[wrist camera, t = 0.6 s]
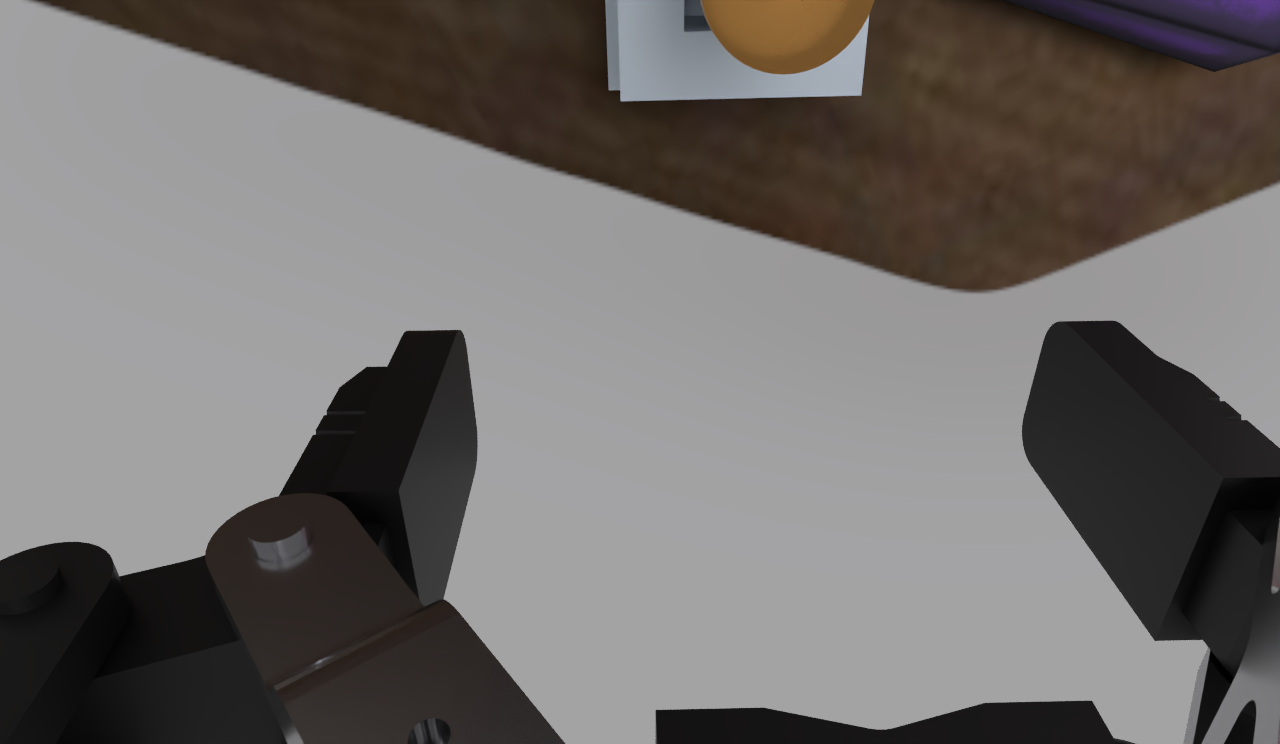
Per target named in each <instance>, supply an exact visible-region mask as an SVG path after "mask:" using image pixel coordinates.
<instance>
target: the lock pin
mask: <svg viewBox="0 0 1280 744" xmlns="http://www.w3.org/2000/svg"><path fill="white" fill-rule="evenodd" d="M700 1H701V6H702V9H703V13H704V16H705V18H706V21H707V23H708V25H709V27H710V29H711V30H712V32H713V34H714V35H715V37H716V38H717V39H718V40H719V42H720V43H721V44H722V45H723V47H724V48H725V49H726V50H727V51H728V52H729V53H730V54H731V55H732V56H733V57H734V58H736V59H737V60H739V61H740V62H742V63H743V64H745V65H747V66H749V67H751V68H753V69H756V70H759V71H762V72H766V73H771V74H784V75H785V74H796V73H800V72H805V71H808V70H811V69H814V68H816V67H819V66H821V65H822V64H824V63H826V62H828V61H830V60H831V59H832V58H834V57H835V56H837V55H838V54H839V53H840V52H842V51H843V50H844V49H845V48H846V47H847V46H848V45H849V44H850V43H851V42H852V40H853V39H854V38H855V37H856V36H857V34H858V33H859V31H860V30H861V29H862V27H863V25H864V23H865V22H866V20H867V18H868V16H869V13H870V11H871V9H872V6H873V3H874V0H700Z"/></svg>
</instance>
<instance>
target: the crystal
mask: <svg viewBox="0 0 1280 744" xmlns="http://www.w3.org/2000/svg"><path fill="white" fill-rule="evenodd" d="M1003 1H1006V2H1009V3H1012V4H1015V5H1018V6H1021V7H1024V8H1027V9H1030V10H1033V11H1036V12H1039V13H1042V14H1044V15H1047V16H1050V17H1053V18H1056V19H1059V20H1062V21H1065V22H1068V23H1071V24H1074V25H1077V26H1080V27H1083V28H1086V29H1089V30H1092V31H1095V32H1098V33H1101V34H1104V35H1107V36H1109V37H1112V38H1115V39H1118V40H1121V41H1124V42H1127V43H1130V44H1133V45H1136V46H1139V47H1142V48H1145V49H1148V50H1151V51H1154V52H1157V53H1160V54H1163V55H1166V56H1169V57H1172V58H1175V59H1177V60H1180V61H1183V62H1186V63H1189V64H1192V65H1195V66H1198V67H1201V68H1204V69H1207V70H1210V71H1213V72H1215V71H1219V70H1222V69H1226V68H1229V67H1233V66H1236V65H1239V64H1243V63H1246V62H1250V61H1253V60H1257V59H1260V58H1263V57H1267V56H1270V55H1274V54H1277V53H1280V0H1003Z"/></svg>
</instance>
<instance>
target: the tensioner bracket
mask: <svg viewBox="0 0 1280 744" xmlns="http://www.w3.org/2000/svg"><path fill="white" fill-rule="evenodd" d="M605 5H606V32H607V59H608V86H609V90H620V99H621V101H653V100H694V99H735V98H776V97H817V96H858V95H861V92H862V82H863V72H864V62H865V52H866V42H867V32H868V22H869V16H868V18H867V20H866V22H865V23H864V25H863V27H862V29H861V30H860V31H859V33H858V34H857V36H856V37H855V38H854V39H853V40H852V42H851V43H850V44H849V45H848V46H847V47H846V48H845V49H844V50H843V51H842V52H840V53H839V54H838V55H837V56H835V57H834V58H832V59H831V60H830V61H828V62H826V63H824V64H822V65H821V66H819V67H816V68H814V69H811V70H808V71H805V72H800V73H796V74H785V75H784V74H771V73H766V72H762V71H759V70H756V69H753V68H751V67H749V66H747V65H745V64H743V63H742V62H740V61H739V60H737V59H736V58H734V57H733V56H732V55H731V54H730V53H729V52H728V51H727V50H726V49H725V48H724V47H723V45H722V44H721V43H720V42H719V40H718V39H717V38H716V37H715V35H714V34H713V32H712V30H711V29H710V27H709V25H708V23H707V21H706V18H705V16H704V13H703V9H702V6H701V1H700V0H605Z"/></svg>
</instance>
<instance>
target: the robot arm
mask: <svg viewBox="0 0 1280 744" xmlns="http://www.w3.org/2000/svg"><path fill="white" fill-rule="evenodd" d="M1219 398H1220V397H1219V396H1218V395H1217V394H1216V393H1215V392H1213V391H1212V390H1211V389H1210V388H1209V387H1208V386H1206V385H1205V384H1204V383H1203V382H1202V381H1201V380H1199V379H1198V378H1197V377H1196V376H1195V375H1194V374H1192V373H1190V372H1188V371H1186V370H1184V369H1182V368H1180V367H1178V366H1176V365H1174V364H1172V363H1170V362H1168V361H1166V360H1164V359H1162V358H1160V357H1158V356H1157V355H1155V354H1154V353H1153V352H1152V351H1151V350H1150V349H1149V348H1148V347H1147V346H1145V345H1144V344H1143V343H1142V342H1141V341H1140V340H1138V339H1137V338H1136V337H1135V336H1134V335H1133V334H1132V333H1131V332H1129V331H1128V330H1127V329H1126V328H1125V327H1124V326H1123V325H1121V324H1120V323H1118V322H1116V321H1067V322H1056V323H1055V324H1053V325H1052V326H1051V327H1050V328H1049V330H1048V331H1047V333H1046V336H1045V338H1044V341H1043V345H1042V349H1041V353H1040V357H1039V360H1038V364H1037V369H1036V372H1035V376H1034V380H1033V384H1032V387H1031V391H1030V395H1029V399H1028V402H1027V406H1026V410H1025V414H1024V418H1023V425H1022V439H1023V446H1024V450H1025V453H1026V456H1027V459H1028V461H1029V462H1030V464H1031V466H1032V467H1033V468H1034V470H1035V471H1036V473H1037V474H1038V476H1039V477H1040V478H1041V480H1042V481H1043V483H1044V484H1045V485H1046V487H1047V488H1048V489H1049V491H1050V492H1051V494H1052V495H1053V497H1054V498H1055V500H1056V501H1057V502H1058V504H1059V505H1060V507H1061V508H1062V509H1063V511H1064V512H1065V514H1066V515H1067V517H1068V518H1069V520H1070V521H1071V522H1072V524H1073V525H1074V527H1075V528H1076V530H1077V531H1078V532H1079V534H1080V535H1081V537H1082V538H1083V539H1084V541H1085V542H1086V544H1087V545H1088V547H1089V548H1090V549H1091V551H1092V552H1093V553H1094V555H1095V556H1096V558H1097V559H1098V561H1099V562H1100V563H1101V565H1102V566H1103V568H1104V569H1105V570H1106V572H1107V574H1108V575H1109V576H1110V578H1111V579H1112V581H1113V582H1114V583H1115V585H1116V586H1117V588H1118V589H1119V591H1120V592H1121V593H1122V595H1123V596H1124V598H1125V599H1126V600H1127V602H1128V603H1129V605H1130V606H1131V607H1132V609H1133V610H1134V612H1135V613H1136V614H1137V616H1138V617H1139V619H1140V620H1141V622H1142V623H1143V624H1144V626H1145V627H1146V629H1147V630H1148V632H1149V633H1150V635H1151V636H1152V637H1153V639H1154V640H1155V641H1159V640H1203V641H1204V642H1205V643H1206V644H1207V646H1208V647H1209V648H1208V650H1207V652H1206V654H1205V656H1204V658H1203V660H1202V663H1201V665H1200V667H1199V670H1198V674H1197V678H1196V684H1195V688H1194V694H1193V699H1192V704H1191V709H1190V714H1189V719H1188V724H1187V729H1186V734H1185V739H1184V744H1280V448H1279V447H1278V446H1276V445H1275V444H1274V443H1273V442H1272V441H1271V440H1269V439H1268V438H1267V437H1266V436H1265V435H1264V434H1262V433H1261V432H1260V431H1259V430H1258V429H1256V428H1255V427H1254V426H1253V425H1252V424H1251V423H1250V422H1248V421H1247V420H1241V415H1240V414H1239V413H1238V412H1237V411H1236V410H1234V409H1233V408H1232V407H1231V406H1230V405H1229V404H1227V403H1226V402H1225V401H1220V400H1219ZM476 462H477V427H476V418H475V410H474V402H473V395H472V388H471V379H470V371H469V363H468V355H467V348H466V342H465V338H464V335H463V333H462V331H461V330H435V331H406V332H405V333H404V334H403V336H402V338H401V340H400V342H399V344H398V346H397V348H396V350H395V352H394V354H393V356H392V358H391V360H390V362H389V365H388V367H366V368H365V369H363V370H362V371H361V372H359V373H358V374H357V375H356V376H354V377H353V378H352V379H350V380H349V381H348V382H346V383H345V384H344V385H342V386H341V387H340V388H339V390H338V392H337V393H336V395H335V397H334V399H333V400H332V402H331V404H330V406H329V408H328V409H327V415H324V416H323V419H322V420H321V422H320V424H319V426H318V427H317V429H316V435H313V436H312V438H311V440H310V441H309V443H308V445H307V447H306V449H305V450H304V452H303V454H302V456H301V458H300V460H299V461H298V463H297V465H296V466H295V468H294V470H293V472H292V474H291V475H290V477H289V479H288V481H287V482H286V484H285V486H284V488H283V490H282V492H281V493H280V495H279V496H278V497H274V498H270V499H267V500H264V501H261V502H259V503H256V504H254V505H252V506H250V507H248V508H246V509H244V510H242V511H241V512H239V513H237V514H236V515H234V516H233V517H231V518H230V519H229V520H227V521H226V522H225V523H224V524H223V525H222V526H221V527H220V528H219V529H218V530H217V531H216V532H215V534H214V535H213V536H212V538H211V540H210V542H209V543H208V546H207V549H206V555H204V556H202V557H199V558H195V559H192V560H188V561H184V562H180V563H175V564H172V565H167V566H163V567H158V568H154V569H150V570H145V571H141V572H137V573H132V574H128V575H124V576H120V577H119V575H118V573H117V570H116V568H115V566H114V563H113V561H112V558H111V557H110V555H109V554H108V553H107V552H106V551H105V550H104V549H102V548H100V547H99V546H96V545H92V544H89V543H81V542H63V543H54V544H48V545H44V546H39V547H36V548H32V549H29V550H25V551H22V552H20V553H17V554H14V555H12V556H9V557H7V558H5V559H3V560H1V561H0V744H565V743H564V742H563V740H562V739H561V738H560V737H559V736H558V734H557V733H556V732H555V731H554V729H553V728H552V727H551V726H550V724H549V723H548V722H547V721H546V719H545V718H544V717H543V716H542V714H541V713H540V712H539V711H538V710H537V708H536V707H535V706H534V705H533V703H532V702H531V701H530V700H529V698H528V697H527V696H526V695H525V693H524V692H523V691H522V690H521V689H520V687H519V686H518V685H517V684H516V682H515V681H514V680H513V679H512V677H511V676H510V675H509V674H508V673H507V671H506V670H505V669H504V668H503V666H502V665H501V664H500V663H499V661H498V660H497V659H496V658H495V656H494V655H493V654H492V653H491V652H490V650H489V649H488V648H487V647H486V645H485V644H484V643H483V642H482V640H481V639H480V638H479V637H478V636H477V634H476V633H475V632H474V631H473V630H472V628H471V627H470V626H469V624H468V623H467V622H466V621H465V620H464V618H463V617H462V616H461V615H460V613H459V612H458V611H457V610H456V609H455V608H454V607H453V606H452V605H451V604H450V603H449V602H447V601H446V600H443V598H444V594H445V590H446V586H447V582H448V578H449V574H450V570H451V566H452V562H453V558H454V554H455V550H456V546H457V542H458V538H459V534H460V530H461V526H462V522H463V518H464V514H465V510H466V506H467V502H468V498H469V494H470V490H471V486H472V482H473V478H474V474H475V469H476ZM656 744H1135V743H1131V742H1128V741H1125V740H1120V739H1115V738H1113V737H1112V735H1111V733H1110V732H1109V730H1108V728H1107V726H1106V724H1105V723H1104V721H1103V719H1102V718H1101V716H1100V714H1099V712H1098V711H1097V709H1096V707H1095V706H1094V704H1093V702H1092V701H1060V702H1059V701H1057V702H1009V703H983V704H980V705H977V706H973V707H969V708H965V709H962V710H958V711H955V712H951V713H947V714H944V715H940V716H936V717H933V718H929V719H925V720H922V721H918V722H915V723H911V724H908V725H904V726H900V727H897V728H893V729H887V730H875V729H868V728H863V727H858V726H853V725H848V724H843V723H838V722H833V721H828V720H823V719H818V718H812V717H807V716H802V715H797V714H792V713H787V712H782V711H777V710H772V709H767V708H733V709H732V708H730V709H686V710H685V709H684V710H656Z"/></svg>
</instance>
